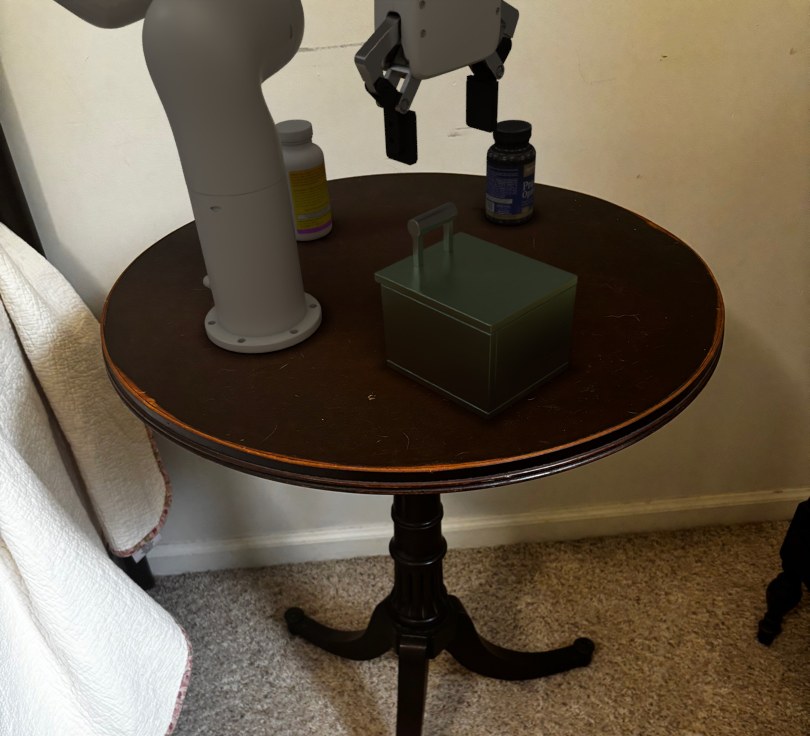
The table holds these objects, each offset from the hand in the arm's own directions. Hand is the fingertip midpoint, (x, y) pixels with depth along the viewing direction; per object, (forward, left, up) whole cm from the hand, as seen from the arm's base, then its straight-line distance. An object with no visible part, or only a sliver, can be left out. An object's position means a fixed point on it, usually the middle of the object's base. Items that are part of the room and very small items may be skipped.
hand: (442, 144), depth 68 cm
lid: (+5, -1, -11) cm, 12 cm away
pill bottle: (-16, +28, -20) cm, 38 cm away
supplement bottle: (-33, +8, -20) cm, 39 cm away
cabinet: (+5, -1, -20) cm, 20 cm away
